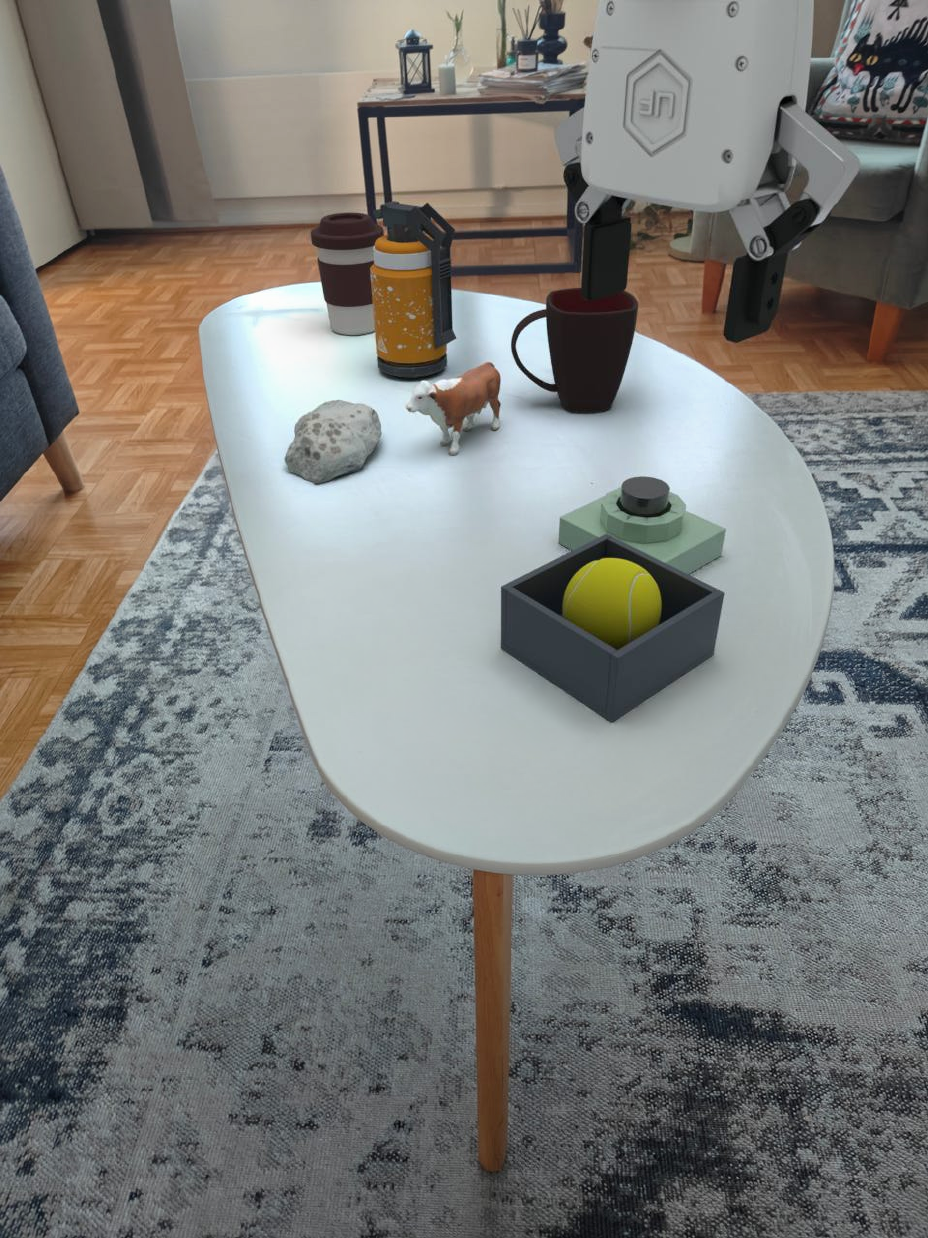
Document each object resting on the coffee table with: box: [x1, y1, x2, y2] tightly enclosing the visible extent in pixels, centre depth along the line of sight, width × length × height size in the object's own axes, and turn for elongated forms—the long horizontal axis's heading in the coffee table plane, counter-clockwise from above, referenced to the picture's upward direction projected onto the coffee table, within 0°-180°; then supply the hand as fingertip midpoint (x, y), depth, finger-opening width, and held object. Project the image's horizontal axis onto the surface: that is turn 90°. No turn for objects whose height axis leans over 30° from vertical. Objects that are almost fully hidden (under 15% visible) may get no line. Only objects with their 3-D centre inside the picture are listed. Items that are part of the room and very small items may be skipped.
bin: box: [500, 534, 725, 723], centre depth 66 cm, size 11×11×6 cm
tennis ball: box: [562, 558, 662, 650], centre depth 65 cm, size 7×7×7 cm
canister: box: [370, 200, 457, 379], centre depth 110 cm, size 9×11×20 cm
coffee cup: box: [310, 212, 385, 336], centre depth 126 cm, size 10×10×15 cm
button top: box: [620, 475, 671, 518], centre depth 76 cm, size 4×4×2 cm
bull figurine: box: [405, 361, 502, 456], centre depth 96 cm, size 4×13×8 cm, turn 139°
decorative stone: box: [284, 399, 383, 485], centre depth 94 cm, size 12×11×5 cm
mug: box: [510, 287, 639, 414], centre depth 102 cm, size 10×14×12 cm
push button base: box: [558, 487, 727, 575], centre depth 78 cm, size 11×9×4 cm
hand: (670, 314), depth 48 cm, fingers open, 9 cm apart
